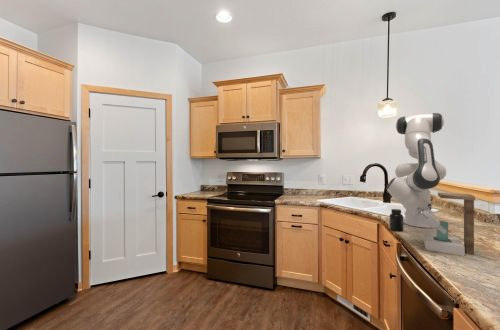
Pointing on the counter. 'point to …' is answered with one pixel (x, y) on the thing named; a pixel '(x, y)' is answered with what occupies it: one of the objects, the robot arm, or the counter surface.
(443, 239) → the peg
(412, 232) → the counter surface
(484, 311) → the counter surface
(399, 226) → the supplement bottle
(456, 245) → the socket
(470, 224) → the brown wooden overhang stand
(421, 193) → the robot arm
